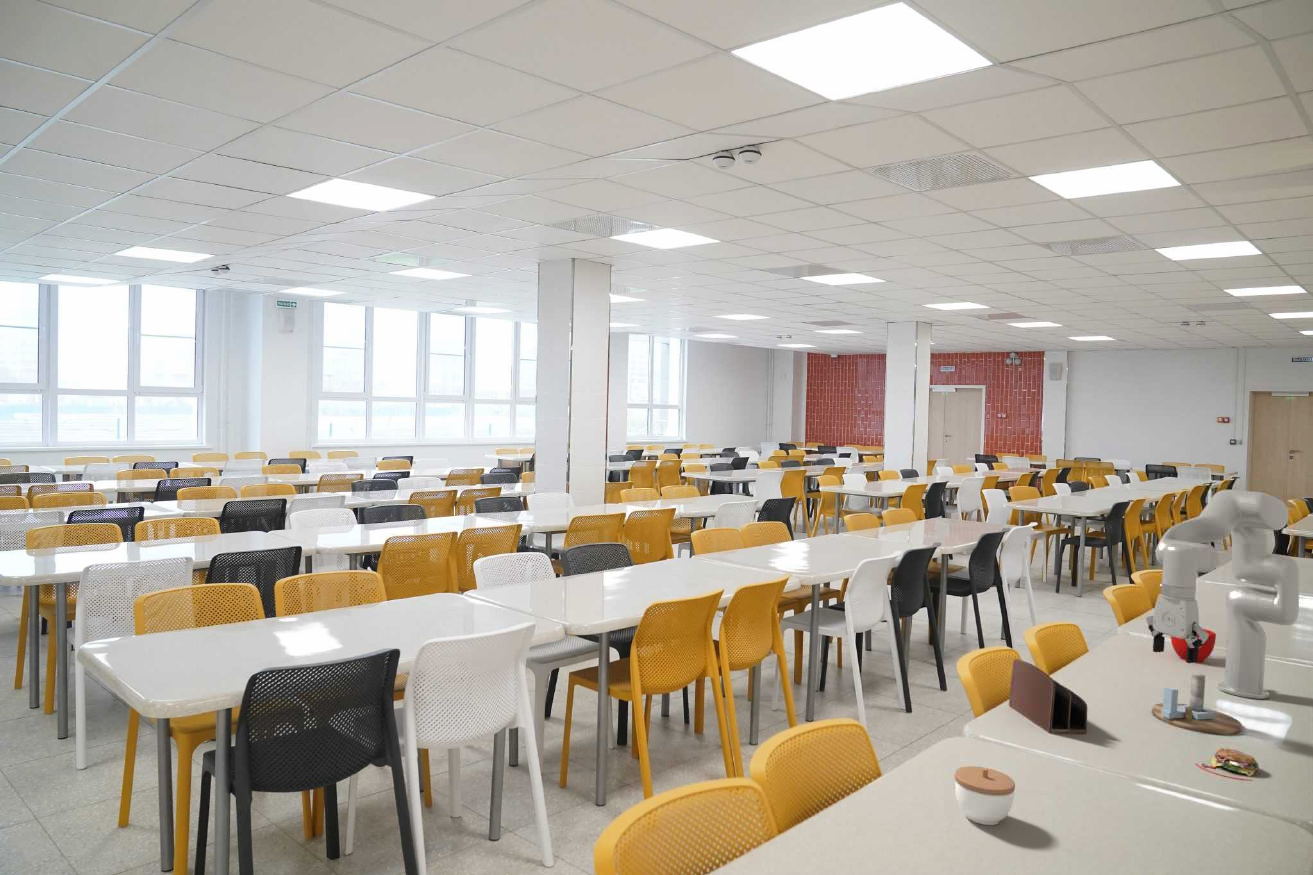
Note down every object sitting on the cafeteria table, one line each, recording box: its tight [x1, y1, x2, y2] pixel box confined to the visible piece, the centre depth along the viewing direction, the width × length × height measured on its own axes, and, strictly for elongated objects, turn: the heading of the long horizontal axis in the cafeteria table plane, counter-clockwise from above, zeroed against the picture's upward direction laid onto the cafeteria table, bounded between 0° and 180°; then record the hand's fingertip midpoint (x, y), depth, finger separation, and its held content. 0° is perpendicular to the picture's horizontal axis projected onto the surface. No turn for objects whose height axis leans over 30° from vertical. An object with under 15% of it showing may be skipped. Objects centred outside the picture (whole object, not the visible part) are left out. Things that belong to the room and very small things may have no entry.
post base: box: [1151, 672, 1243, 736], centre depth 223 cm, size 20×20×12 cm
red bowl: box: [1170, 628, 1217, 663], centre depth 287 cm, size 13×17×10 cm
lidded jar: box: [954, 765, 1016, 826], centre depth 161 cm, size 11×11×9 cm
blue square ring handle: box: [1161, 686, 1215, 720], centre depth 222 cm, size 14×6×8 cm, turn 106°
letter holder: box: [1008, 658, 1088, 735], centre depth 218 cm, size 10×20×14 cm, turn 6°
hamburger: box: [1194, 747, 1260, 782], centre depth 192 cm, size 14×14×6 cm
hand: (1174, 657), depth 220 cm, fingers open, 9 cm apart
